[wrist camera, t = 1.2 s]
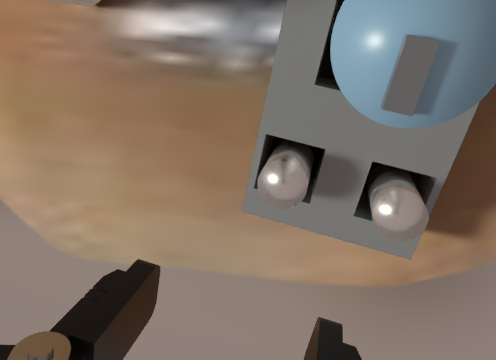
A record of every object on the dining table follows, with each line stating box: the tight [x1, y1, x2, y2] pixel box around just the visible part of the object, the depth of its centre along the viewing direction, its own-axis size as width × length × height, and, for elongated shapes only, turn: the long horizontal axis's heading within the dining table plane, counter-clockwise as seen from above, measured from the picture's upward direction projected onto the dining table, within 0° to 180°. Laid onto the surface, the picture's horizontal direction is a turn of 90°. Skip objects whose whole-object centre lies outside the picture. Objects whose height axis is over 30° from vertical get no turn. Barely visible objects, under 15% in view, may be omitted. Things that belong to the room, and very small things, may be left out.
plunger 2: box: [367, 164, 429, 241], centre depth 24 cm, size 3×3×6 cm
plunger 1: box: [257, 139, 313, 209], centre depth 25 cm, size 3×3×6 cm
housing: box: [242, 0, 480, 260], centre depth 25 cm, size 18×12×5 cm, turn 168°
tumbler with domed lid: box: [330, 0, 496, 129], centre depth 19 cm, size 6×6×16 cm
